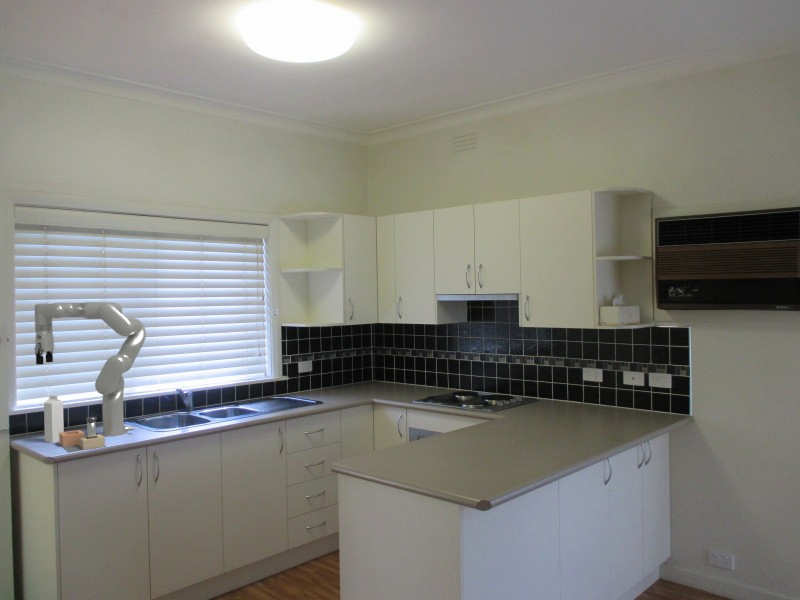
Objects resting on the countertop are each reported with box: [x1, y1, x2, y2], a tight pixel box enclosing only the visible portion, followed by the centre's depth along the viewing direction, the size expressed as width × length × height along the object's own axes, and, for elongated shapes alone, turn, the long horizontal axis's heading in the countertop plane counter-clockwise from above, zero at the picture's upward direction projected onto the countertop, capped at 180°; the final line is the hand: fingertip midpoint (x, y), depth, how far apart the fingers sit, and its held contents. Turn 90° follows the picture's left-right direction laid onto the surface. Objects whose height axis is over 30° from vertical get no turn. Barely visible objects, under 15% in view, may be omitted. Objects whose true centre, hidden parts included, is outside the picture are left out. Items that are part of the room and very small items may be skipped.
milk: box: [43, 395, 65, 444], centre depth 318 cm, size 6×6×22 cm
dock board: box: [57, 429, 107, 453], centre depth 304 cm, size 16×24×6 cm, turn 37°
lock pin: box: [85, 416, 98, 439], centre depth 301 cm, size 4×4×13 cm
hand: (44, 363), depth 324 cm, fingers open, 9 cm apart
